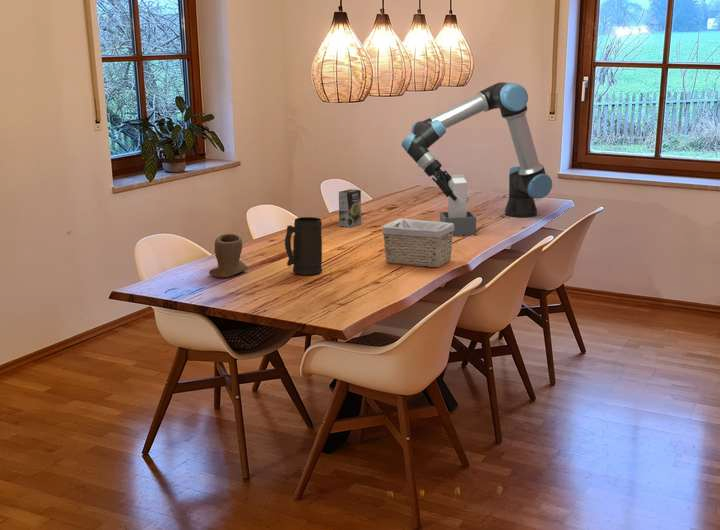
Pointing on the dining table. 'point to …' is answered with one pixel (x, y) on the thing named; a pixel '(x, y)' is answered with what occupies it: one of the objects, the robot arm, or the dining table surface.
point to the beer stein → (305, 245)
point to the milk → (460, 188)
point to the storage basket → (418, 242)
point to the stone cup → (228, 256)
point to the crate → (461, 223)
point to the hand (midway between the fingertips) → (464, 203)
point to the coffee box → (349, 208)
